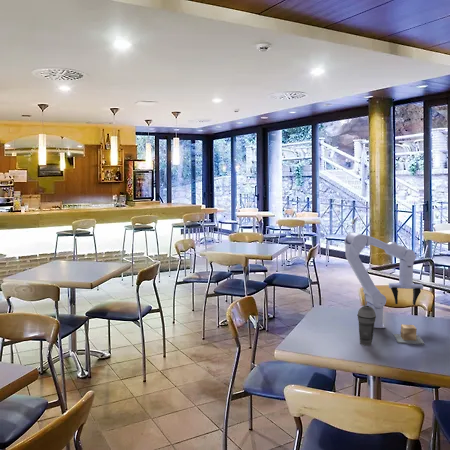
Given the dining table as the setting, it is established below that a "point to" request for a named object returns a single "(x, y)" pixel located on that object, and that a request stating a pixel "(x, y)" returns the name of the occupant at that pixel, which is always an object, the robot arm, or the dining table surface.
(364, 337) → the beverage cup
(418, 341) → the coaster mat
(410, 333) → the oak cube
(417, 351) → the dining table surface
